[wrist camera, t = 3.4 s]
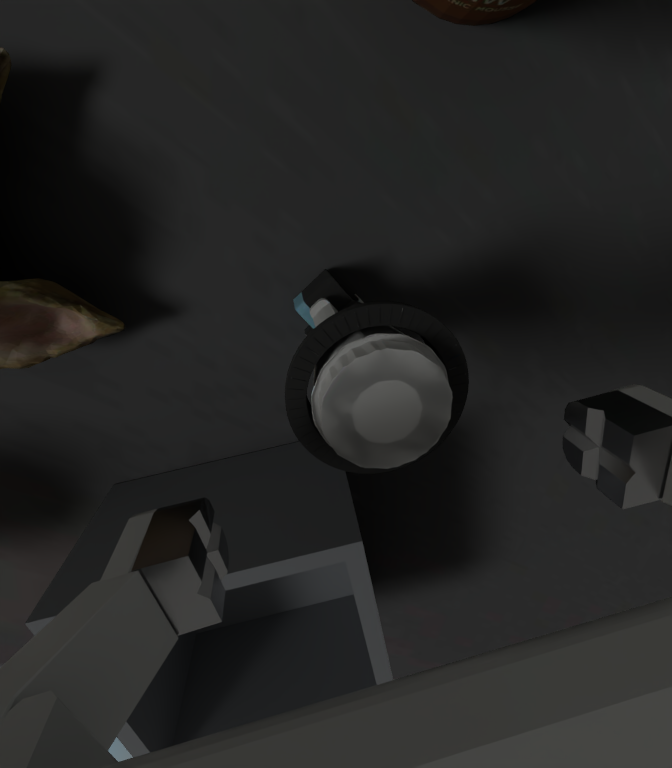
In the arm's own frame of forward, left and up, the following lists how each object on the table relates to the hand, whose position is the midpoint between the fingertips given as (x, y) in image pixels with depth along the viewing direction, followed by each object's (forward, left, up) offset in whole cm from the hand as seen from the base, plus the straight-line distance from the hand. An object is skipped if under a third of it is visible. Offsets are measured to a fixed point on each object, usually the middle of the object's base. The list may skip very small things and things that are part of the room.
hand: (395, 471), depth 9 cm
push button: (-1, 0, -12) cm, 12 cm away
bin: (+7, +12, -12) cm, 18 cm away
